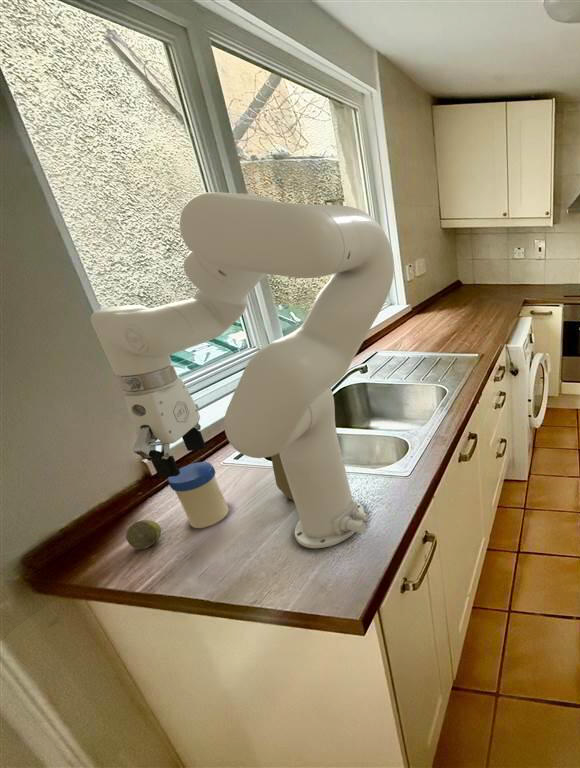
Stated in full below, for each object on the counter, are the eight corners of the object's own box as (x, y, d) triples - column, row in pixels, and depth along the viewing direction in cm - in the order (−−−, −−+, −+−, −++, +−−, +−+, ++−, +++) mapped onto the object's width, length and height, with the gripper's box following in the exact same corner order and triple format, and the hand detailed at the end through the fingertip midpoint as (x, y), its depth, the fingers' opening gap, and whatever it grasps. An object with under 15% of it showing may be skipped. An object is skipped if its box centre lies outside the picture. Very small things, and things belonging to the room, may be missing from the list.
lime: (166, 542, 74) (155, 521, 72) (132, 557, 71) (120, 536, 69) (163, 530, 77) (153, 510, 75) (131, 544, 74) (119, 523, 72)
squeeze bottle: (305, 505, 82) (282, 431, 75) (272, 501, 84) (246, 428, 76) (329, 482, 89) (310, 412, 82) (298, 478, 91) (277, 410, 84)
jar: (236, 509, 82) (219, 467, 78) (205, 531, 76) (185, 487, 72) (214, 503, 84) (197, 462, 80) (183, 524, 78) (162, 480, 74)
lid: (223, 472, 78) (220, 465, 78) (187, 494, 72) (183, 486, 72) (200, 466, 81) (197, 459, 80) (162, 487, 75) (158, 479, 74)
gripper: (138, 397, 61) (179, 488, 68) (200, 359, 76) (227, 436, 83) (83, 401, 59) (130, 493, 66) (157, 362, 75) (188, 440, 82)
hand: (184, 461), depth 75 cm, fingers open, 8 cm apart
